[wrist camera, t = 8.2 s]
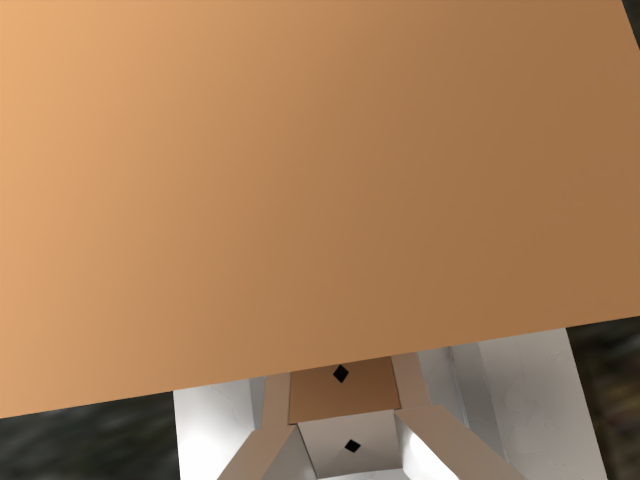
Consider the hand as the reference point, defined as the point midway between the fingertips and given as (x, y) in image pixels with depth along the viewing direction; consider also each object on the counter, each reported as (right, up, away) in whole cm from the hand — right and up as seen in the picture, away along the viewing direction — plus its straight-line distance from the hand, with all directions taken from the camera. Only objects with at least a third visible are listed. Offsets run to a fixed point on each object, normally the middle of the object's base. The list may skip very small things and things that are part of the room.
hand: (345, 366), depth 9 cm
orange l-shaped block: (0, +5, +6) cm, 7 cm away
